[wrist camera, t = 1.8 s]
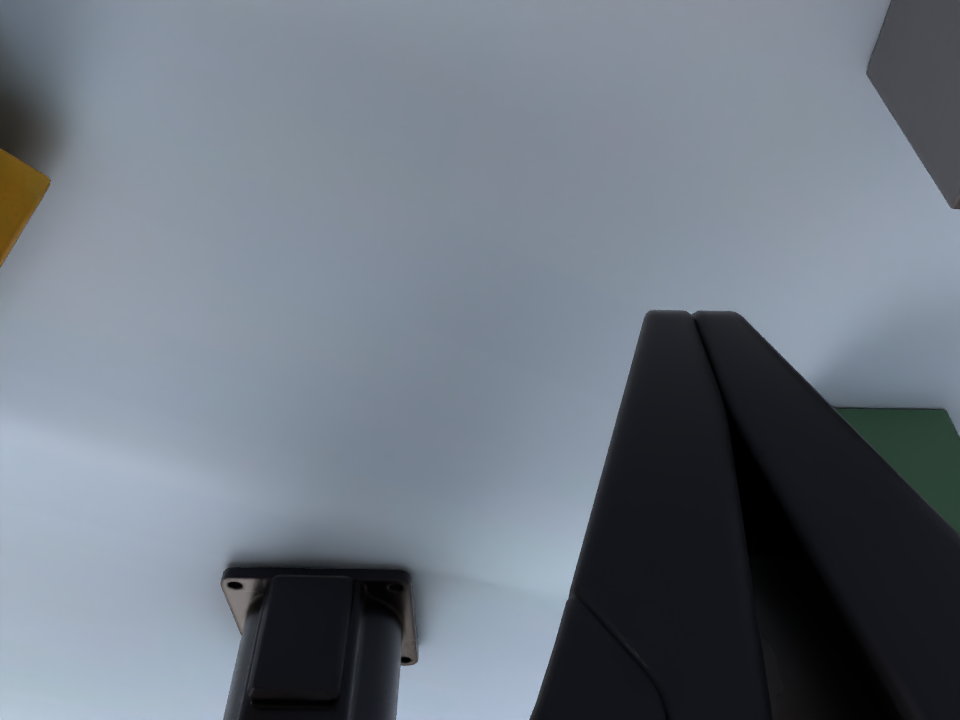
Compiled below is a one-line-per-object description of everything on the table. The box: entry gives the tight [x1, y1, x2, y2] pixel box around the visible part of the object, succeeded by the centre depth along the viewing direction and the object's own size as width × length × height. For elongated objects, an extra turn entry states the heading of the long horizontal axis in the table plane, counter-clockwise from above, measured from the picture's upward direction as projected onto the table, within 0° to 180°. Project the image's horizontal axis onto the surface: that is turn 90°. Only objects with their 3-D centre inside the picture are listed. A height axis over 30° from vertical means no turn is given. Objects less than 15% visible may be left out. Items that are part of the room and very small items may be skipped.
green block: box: [834, 408, 960, 534], centre depth 23 cm, size 4×4×4 cm
